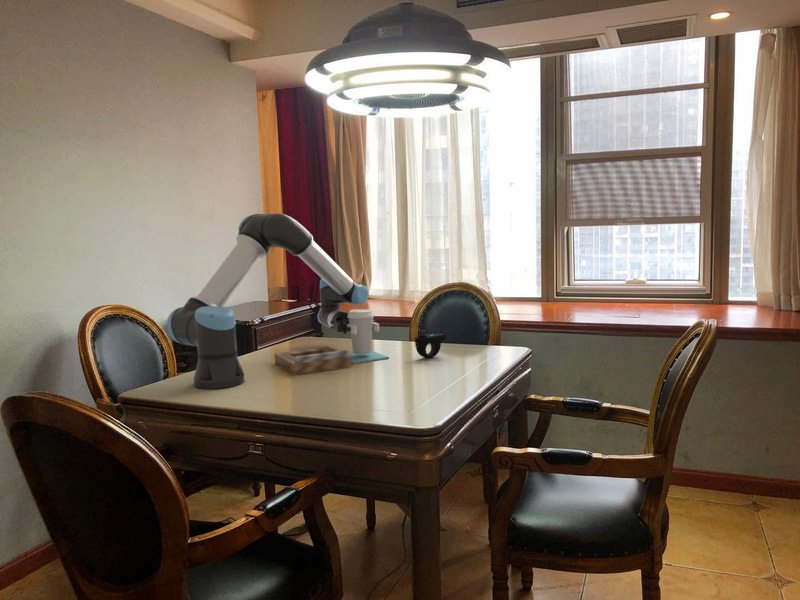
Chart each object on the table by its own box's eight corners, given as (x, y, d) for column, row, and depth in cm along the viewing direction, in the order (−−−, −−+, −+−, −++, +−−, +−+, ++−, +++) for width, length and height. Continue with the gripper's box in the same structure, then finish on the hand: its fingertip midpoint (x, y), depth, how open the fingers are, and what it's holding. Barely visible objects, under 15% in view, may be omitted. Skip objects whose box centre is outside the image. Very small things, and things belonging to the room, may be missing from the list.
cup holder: (294, 375, 205) (293, 358, 204) (275, 363, 222) (274, 348, 222) (351, 366, 215) (350, 350, 214) (328, 356, 232) (327, 341, 231)
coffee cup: (343, 352, 228) (342, 310, 226) (365, 348, 234) (364, 307, 232) (358, 356, 221) (356, 313, 219) (380, 352, 226) (379, 310, 224)
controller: (413, 359, 223) (412, 330, 222) (440, 353, 230) (440, 326, 229) (420, 361, 220) (419, 332, 219) (448, 355, 227) (447, 328, 225)
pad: (352, 364, 218) (352, 362, 218) (336, 356, 230) (336, 355, 230) (388, 358, 225) (388, 357, 225) (371, 352, 237) (371, 350, 237)
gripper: (365, 327, 247) (393, 336, 227) (315, 333, 237) (340, 343, 217) (365, 308, 246) (393, 315, 227) (314, 313, 236) (339, 321, 217)
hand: (367, 329), depth 222 cm, fingers closed on coffee cup, 8 cm apart
